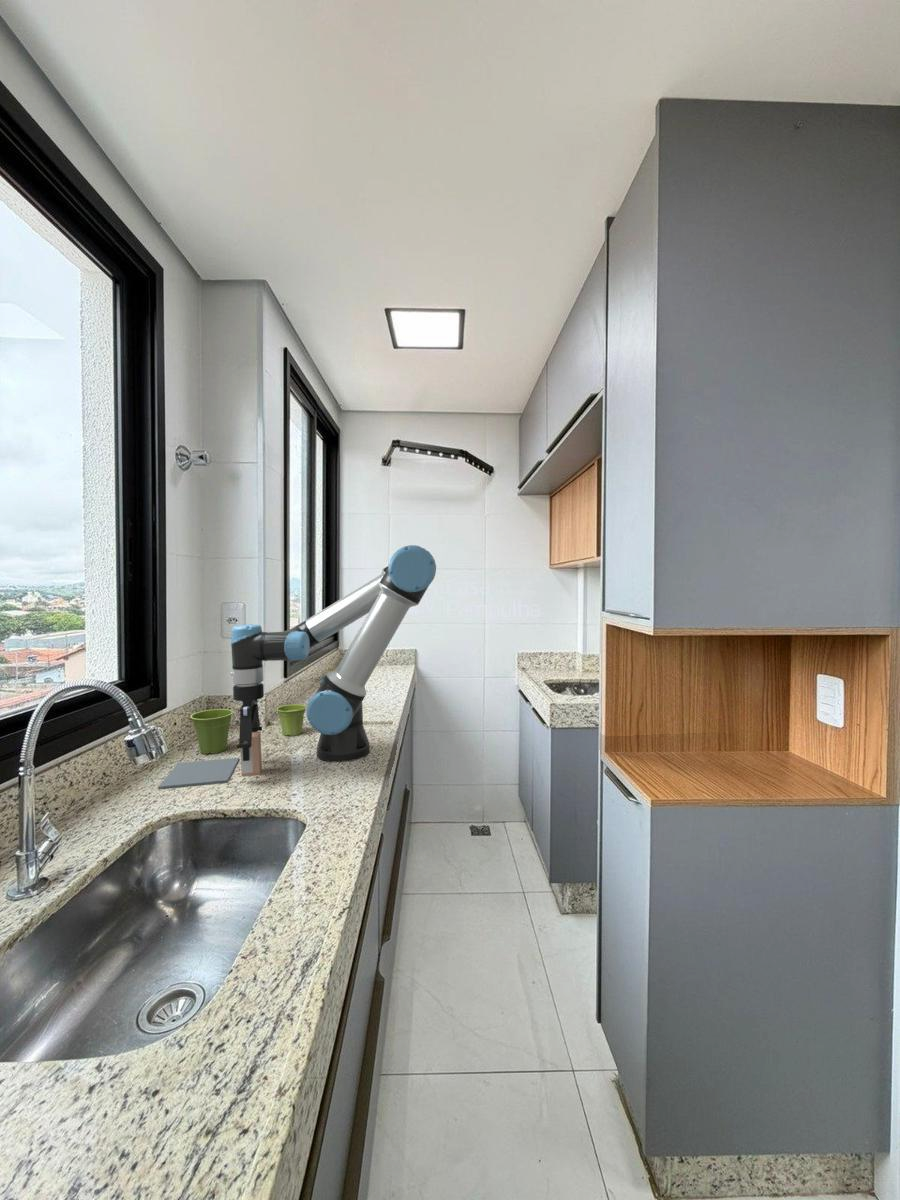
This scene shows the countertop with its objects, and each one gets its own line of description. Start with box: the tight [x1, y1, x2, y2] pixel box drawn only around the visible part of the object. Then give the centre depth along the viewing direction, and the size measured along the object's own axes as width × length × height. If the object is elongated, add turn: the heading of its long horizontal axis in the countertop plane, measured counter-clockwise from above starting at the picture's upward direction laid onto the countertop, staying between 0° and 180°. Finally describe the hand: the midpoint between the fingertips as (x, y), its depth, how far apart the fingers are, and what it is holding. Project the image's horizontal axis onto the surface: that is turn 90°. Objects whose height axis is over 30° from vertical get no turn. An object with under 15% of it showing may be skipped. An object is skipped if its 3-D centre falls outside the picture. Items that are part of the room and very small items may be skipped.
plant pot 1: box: [189, 708, 234, 755], centre depth 164 cm, size 12×12×11 cm
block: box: [239, 731, 263, 777], centre depth 145 cm, size 4×4×10 cm
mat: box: [157, 757, 240, 790], centre depth 145 cm, size 16×18×1 cm
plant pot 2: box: [276, 704, 307, 737], centre depth 181 cm, size 9×9×9 cm
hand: (251, 763), depth 145 cm, fingers open, 13 cm apart
